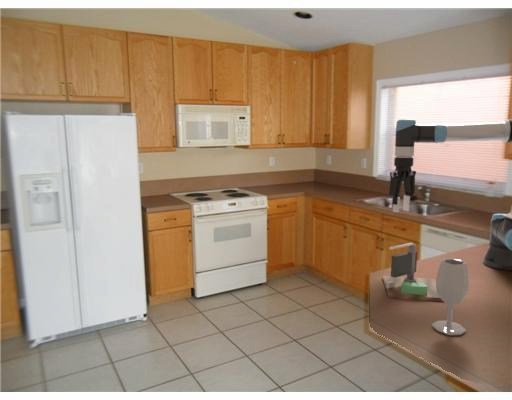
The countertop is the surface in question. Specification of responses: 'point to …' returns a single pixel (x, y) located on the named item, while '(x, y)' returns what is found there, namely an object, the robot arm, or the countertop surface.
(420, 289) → the gauge marks
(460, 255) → the countertop surface
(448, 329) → the wineglass
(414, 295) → the brown square base board
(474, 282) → the countertop surface
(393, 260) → the signpost stand
